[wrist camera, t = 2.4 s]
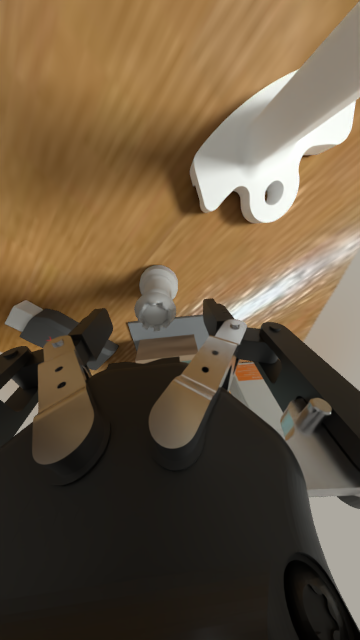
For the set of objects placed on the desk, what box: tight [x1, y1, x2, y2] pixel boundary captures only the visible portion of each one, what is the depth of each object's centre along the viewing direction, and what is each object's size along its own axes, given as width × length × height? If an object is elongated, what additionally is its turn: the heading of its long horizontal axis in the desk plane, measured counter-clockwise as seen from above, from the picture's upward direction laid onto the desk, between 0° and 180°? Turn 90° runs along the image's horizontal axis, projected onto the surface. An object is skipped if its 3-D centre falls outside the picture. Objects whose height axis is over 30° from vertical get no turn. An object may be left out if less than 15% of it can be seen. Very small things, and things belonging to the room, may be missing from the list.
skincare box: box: [230, 362, 285, 440], centre depth 22 cm, size 6×4×12 cm
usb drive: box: [5, 300, 118, 370], centre depth 19 cm, size 5×12×3 cm, turn 44°
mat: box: [128, 315, 209, 351], centre depth 24 cm, size 14×12×1 cm
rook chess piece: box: [134, 265, 178, 332], centre depth 14 cm, size 4×4×8 cm
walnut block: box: [135, 334, 198, 364], centre depth 22 cm, size 8×8×4 cm
